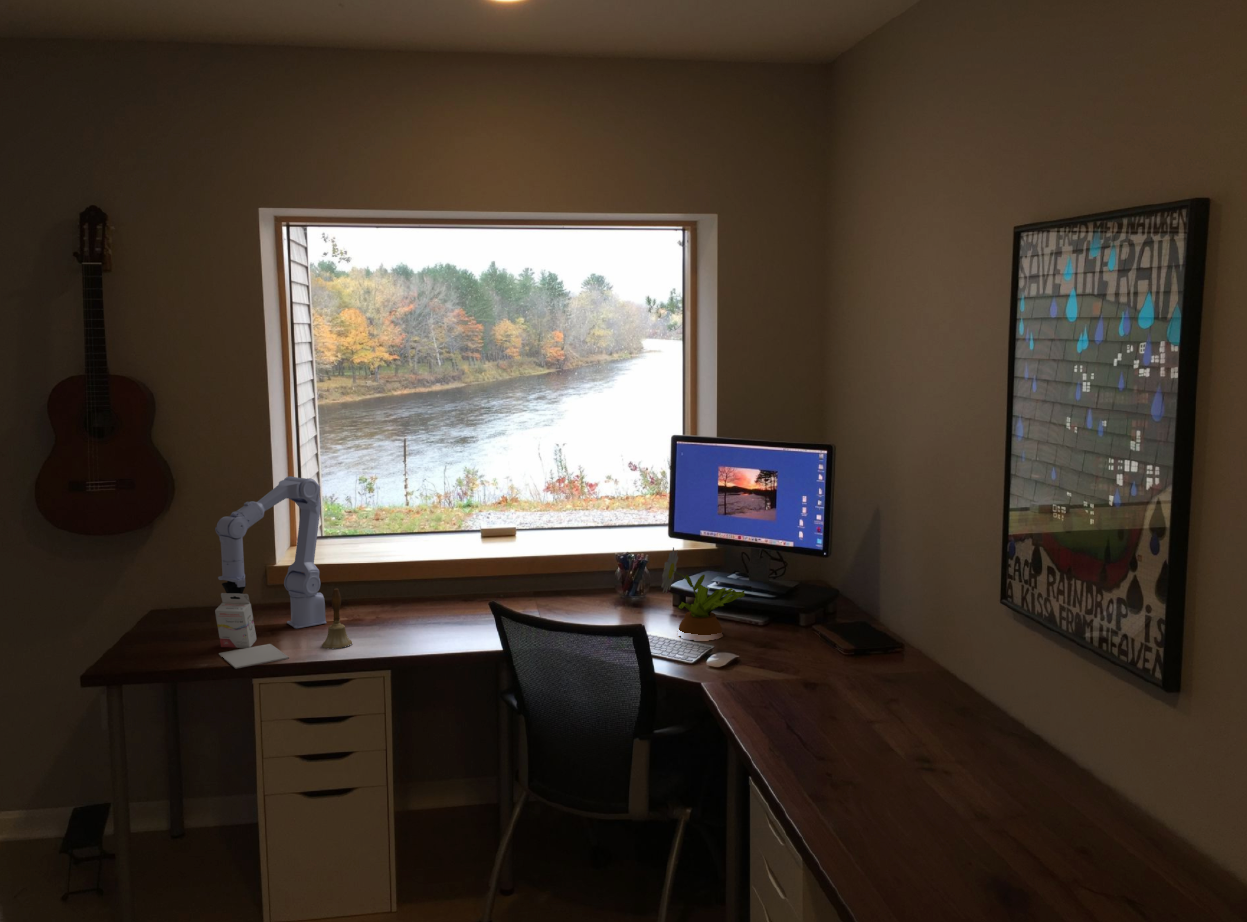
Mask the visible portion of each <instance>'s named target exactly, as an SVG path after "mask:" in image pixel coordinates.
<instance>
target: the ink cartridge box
mask: <svg viewBox="0 0 1247 922" xmlns="http://www.w3.org/2000/svg"><path fill="white" fill-rule="evenodd" d="M234 596H236V597H240V599H231V598H230V597H234ZM220 597H221V601H222V602H221V603H220V605H218V607H217V608H215V610H214V612H215V620H216V625H217V631H218V636H219V643H220V647H221V648H233V649H234V648H235V649H236V648H237V649H238V648H239V649H244V648H250V647H253V645H254V644H255V642H256V641H257V634H256V628H255V627H256V626H255V622H254V614H253V609H252V603H251V602H250V597H249V594H248V593H243V594H236V593H226V592H221V593H220Z"/></svg>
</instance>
